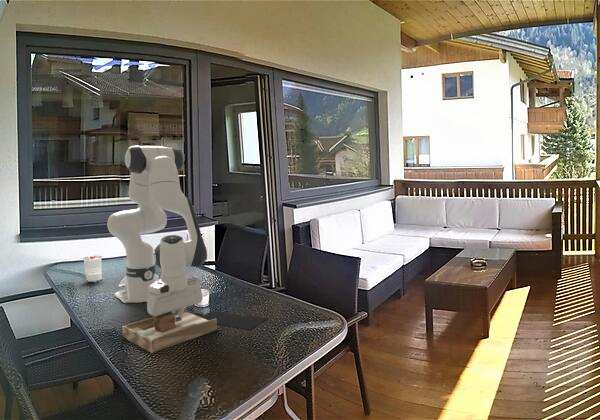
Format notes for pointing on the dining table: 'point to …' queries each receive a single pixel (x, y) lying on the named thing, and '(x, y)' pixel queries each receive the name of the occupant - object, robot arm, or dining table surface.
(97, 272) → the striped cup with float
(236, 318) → the black flat board
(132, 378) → the dining table surface
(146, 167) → the robot arm
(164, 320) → the block
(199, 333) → the box
